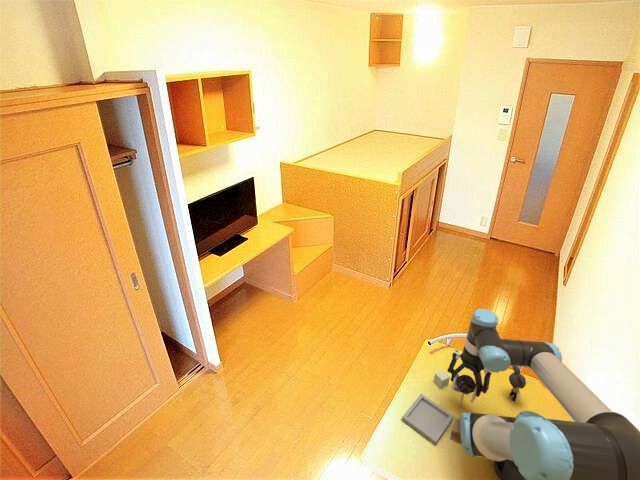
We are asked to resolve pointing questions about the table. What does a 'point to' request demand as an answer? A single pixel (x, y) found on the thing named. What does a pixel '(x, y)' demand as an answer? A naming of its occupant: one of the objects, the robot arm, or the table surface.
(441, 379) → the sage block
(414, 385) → the table surface
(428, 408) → the tray
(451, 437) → the walnut cube
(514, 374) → the toy
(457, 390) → the rubber eraser
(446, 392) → the table surface
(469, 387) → the lollipop
